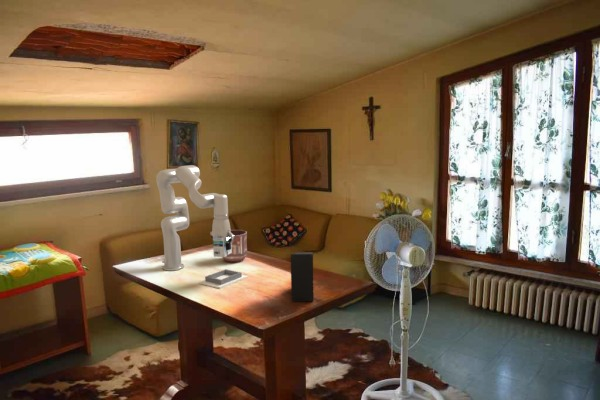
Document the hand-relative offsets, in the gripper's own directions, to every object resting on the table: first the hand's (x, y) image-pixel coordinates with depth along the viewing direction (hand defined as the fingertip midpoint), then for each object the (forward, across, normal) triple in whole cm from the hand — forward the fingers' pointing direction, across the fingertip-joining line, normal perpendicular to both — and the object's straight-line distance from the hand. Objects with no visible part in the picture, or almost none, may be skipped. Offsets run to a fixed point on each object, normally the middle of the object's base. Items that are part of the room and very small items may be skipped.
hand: (222, 248), depth 246 cm
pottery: (+18, -23, +33) cm, 44 cm away
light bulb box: (+4, 0, 0) cm, 4 cm away
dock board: (+18, 0, 0) cm, 18 cm away
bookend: (+19, +48, +6) cm, 52 cm away
